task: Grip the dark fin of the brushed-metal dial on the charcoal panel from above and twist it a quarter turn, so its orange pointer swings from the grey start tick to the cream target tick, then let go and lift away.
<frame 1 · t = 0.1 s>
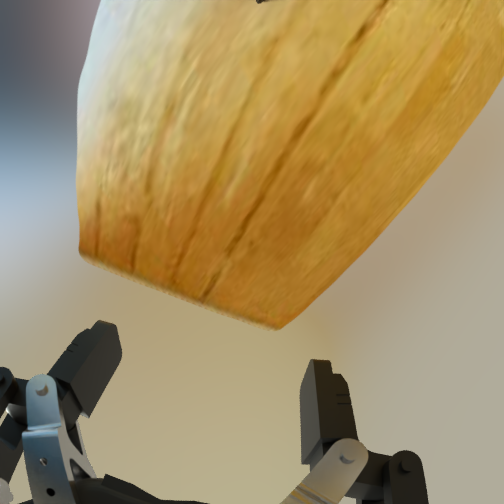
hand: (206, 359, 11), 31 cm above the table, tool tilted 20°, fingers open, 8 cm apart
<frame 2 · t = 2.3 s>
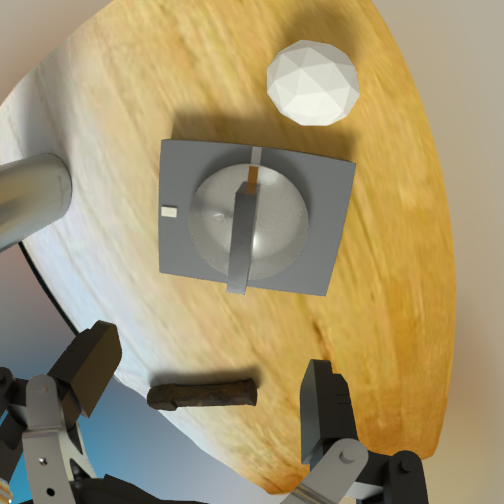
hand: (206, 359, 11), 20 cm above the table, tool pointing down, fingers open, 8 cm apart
hand tool: (201, 387, 42), on the table
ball: (308, 89, 23), on the table
dial knob: (244, 233, 24), point 6 cm above the table, hinge at 0.0°
dial panel: (250, 213, 29), on the table
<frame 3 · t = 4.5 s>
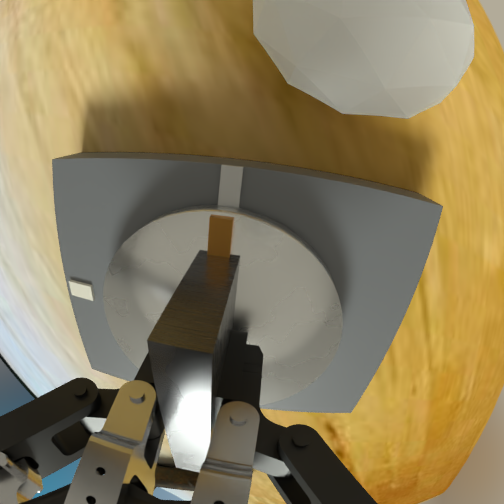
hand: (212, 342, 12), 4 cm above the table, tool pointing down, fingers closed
hand tool: (182, 466, 28), on the table
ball: (342, 46, 10), on the table
dial knob: (205, 368, 10), point 6 cm above the table, hinge at 0.0°, touching gripper
dial panel: (227, 290, 15), on the table
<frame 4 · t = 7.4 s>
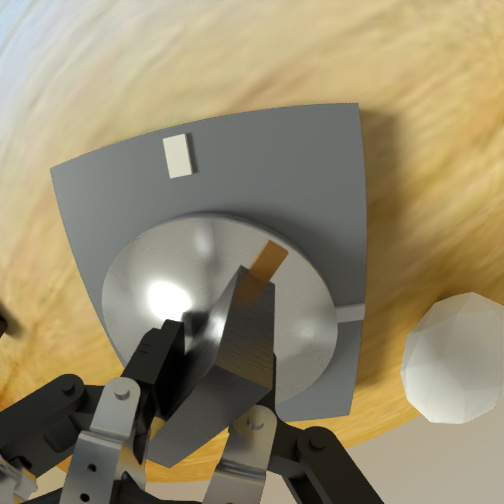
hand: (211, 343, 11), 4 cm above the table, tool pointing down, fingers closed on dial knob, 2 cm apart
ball: (436, 320, 15), on the table
dial knob: (201, 373, 10), point 6 cm above the table, hinge at 51.3°, touching gripper
dial panel: (224, 295, 16), on the table
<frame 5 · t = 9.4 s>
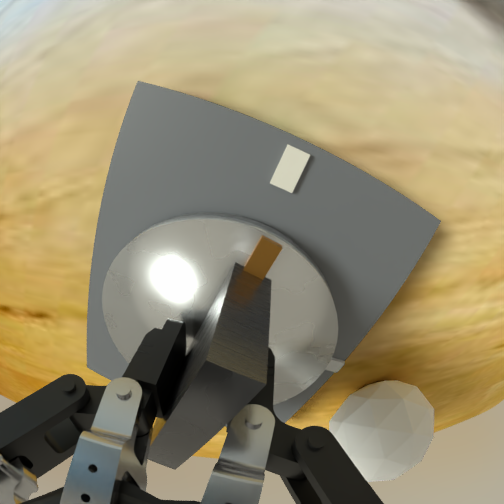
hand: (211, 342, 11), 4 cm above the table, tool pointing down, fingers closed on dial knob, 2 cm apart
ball: (371, 391, 19), on the table
dial knob: (202, 372, 10), point 6 cm above the table, hinge at 85.8°, touching gripper
dial panel: (225, 295, 15), on the table
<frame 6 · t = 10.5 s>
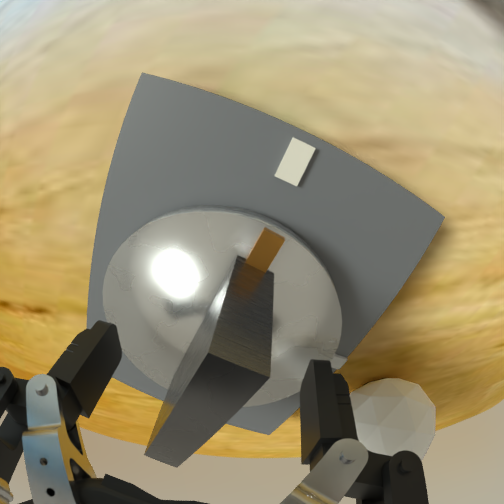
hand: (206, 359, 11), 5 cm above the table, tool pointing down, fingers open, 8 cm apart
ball: (372, 389, 18), on the table
dial knob: (204, 368, 10), point 6 cm above the table, hinge at 86.7°
dial panel: (227, 290, 15), on the table
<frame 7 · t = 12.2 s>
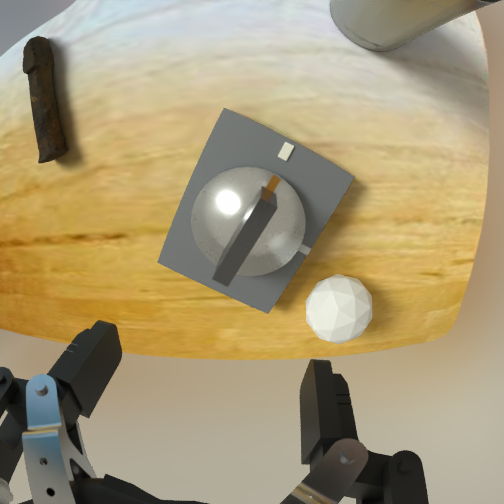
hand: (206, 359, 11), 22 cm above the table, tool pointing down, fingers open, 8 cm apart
hand tool: (50, 95, 25), on the table
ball: (333, 290, 34), on the table
dial knob: (245, 232, 25), point 6 cm above the table, hinge at 86.7°
dial panel: (250, 213, 30), on the table
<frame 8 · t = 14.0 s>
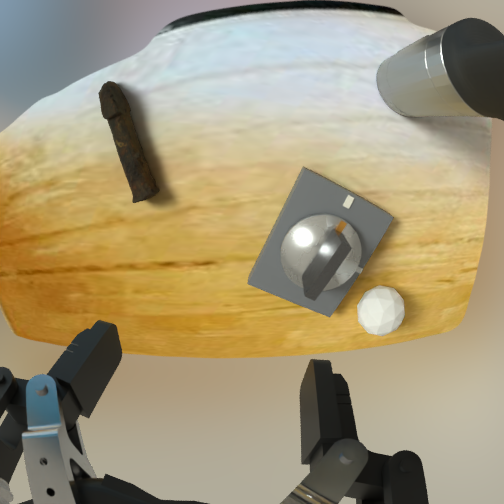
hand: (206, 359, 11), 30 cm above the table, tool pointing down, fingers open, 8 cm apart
hand tool: (130, 138, 36), on the table
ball: (374, 297, 43), on the table
dial knob: (324, 262, 35), point 6 cm above the table, hinge at 86.7°
dial panel: (318, 244, 40), on the table
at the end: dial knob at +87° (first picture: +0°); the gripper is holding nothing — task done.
